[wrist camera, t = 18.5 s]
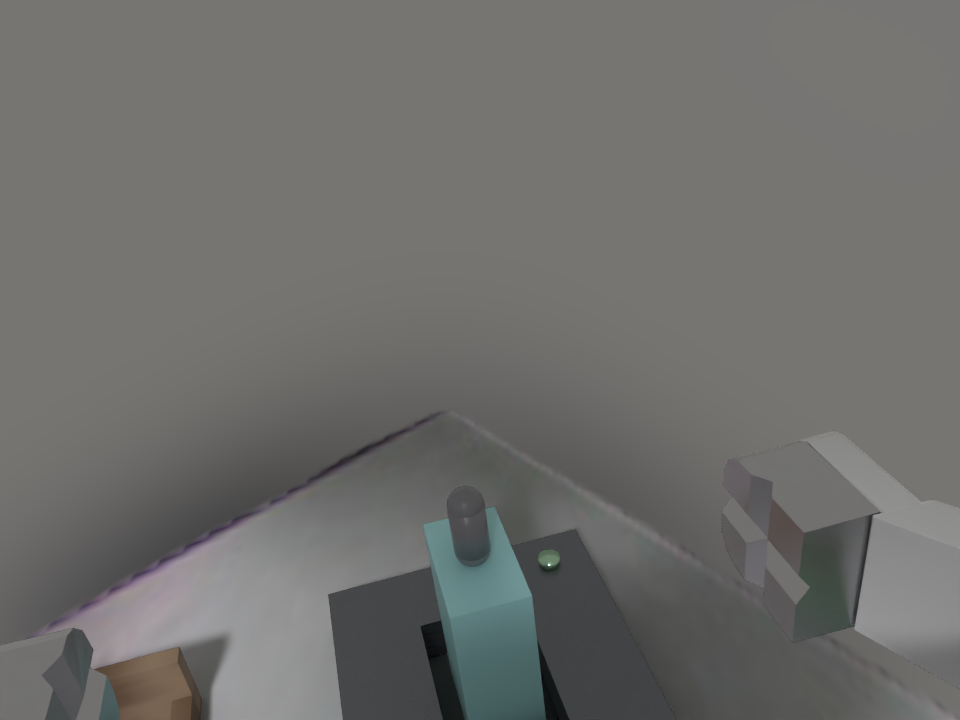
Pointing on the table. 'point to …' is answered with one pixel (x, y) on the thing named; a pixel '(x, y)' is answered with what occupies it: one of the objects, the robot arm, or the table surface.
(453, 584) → the plug
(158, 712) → the open wooden frame
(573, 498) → the table surface
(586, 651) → the port block
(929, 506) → the robot arm
